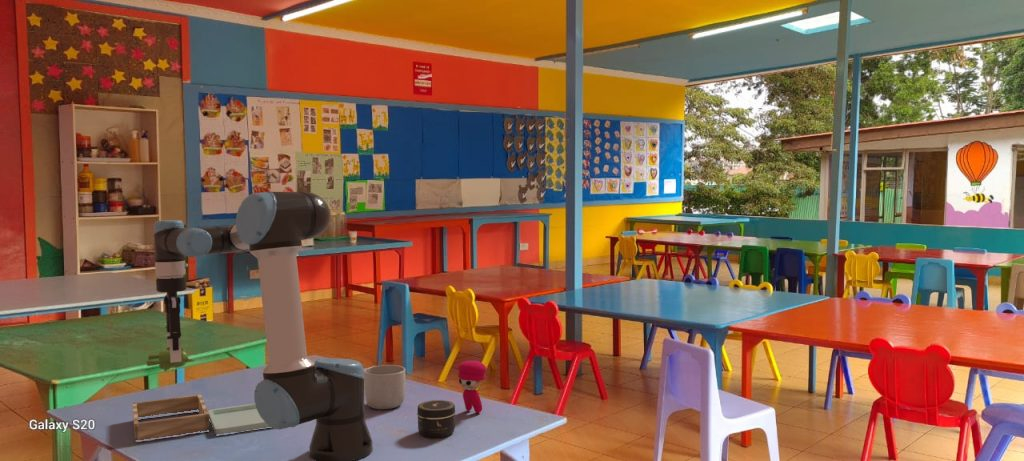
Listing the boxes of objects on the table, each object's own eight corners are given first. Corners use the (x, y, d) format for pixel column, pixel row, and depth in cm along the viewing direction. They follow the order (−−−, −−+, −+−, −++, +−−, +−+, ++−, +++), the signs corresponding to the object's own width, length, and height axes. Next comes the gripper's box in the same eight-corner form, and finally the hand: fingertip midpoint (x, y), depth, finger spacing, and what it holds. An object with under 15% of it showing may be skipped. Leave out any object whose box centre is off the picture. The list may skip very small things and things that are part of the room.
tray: (293, 425, 209) (293, 417, 209) (215, 436, 200) (215, 429, 200) (279, 406, 227) (279, 400, 227) (207, 416, 217) (207, 409, 217)
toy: (452, 414, 217) (451, 362, 216) (467, 406, 224) (466, 356, 223) (478, 418, 213) (477, 365, 212) (492, 410, 220) (491, 359, 219)
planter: (357, 410, 222) (356, 373, 221) (374, 398, 234) (373, 363, 233) (396, 413, 219) (395, 375, 218) (412, 401, 231) (411, 365, 230)
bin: (209, 432, 204) (209, 413, 203) (135, 443, 195) (134, 424, 195) (201, 411, 223) (200, 394, 223) (133, 420, 215) (132, 403, 215)
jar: (421, 441, 195) (420, 412, 194) (414, 429, 204) (414, 401, 204) (459, 437, 197) (458, 408, 197) (451, 425, 207) (450, 398, 206)
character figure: (149, 340, 209) (196, 336, 212) (151, 355, 211) (198, 351, 215) (143, 366, 199) (193, 362, 202) (146, 381, 201) (194, 377, 205)
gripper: (189, 279, 200) (193, 364, 201) (182, 272, 218) (185, 350, 219) (158, 281, 196) (162, 368, 197) (153, 274, 215) (157, 353, 216)
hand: (174, 358), depth 208 cm, fingers closed on character figure, 8 cm apart
